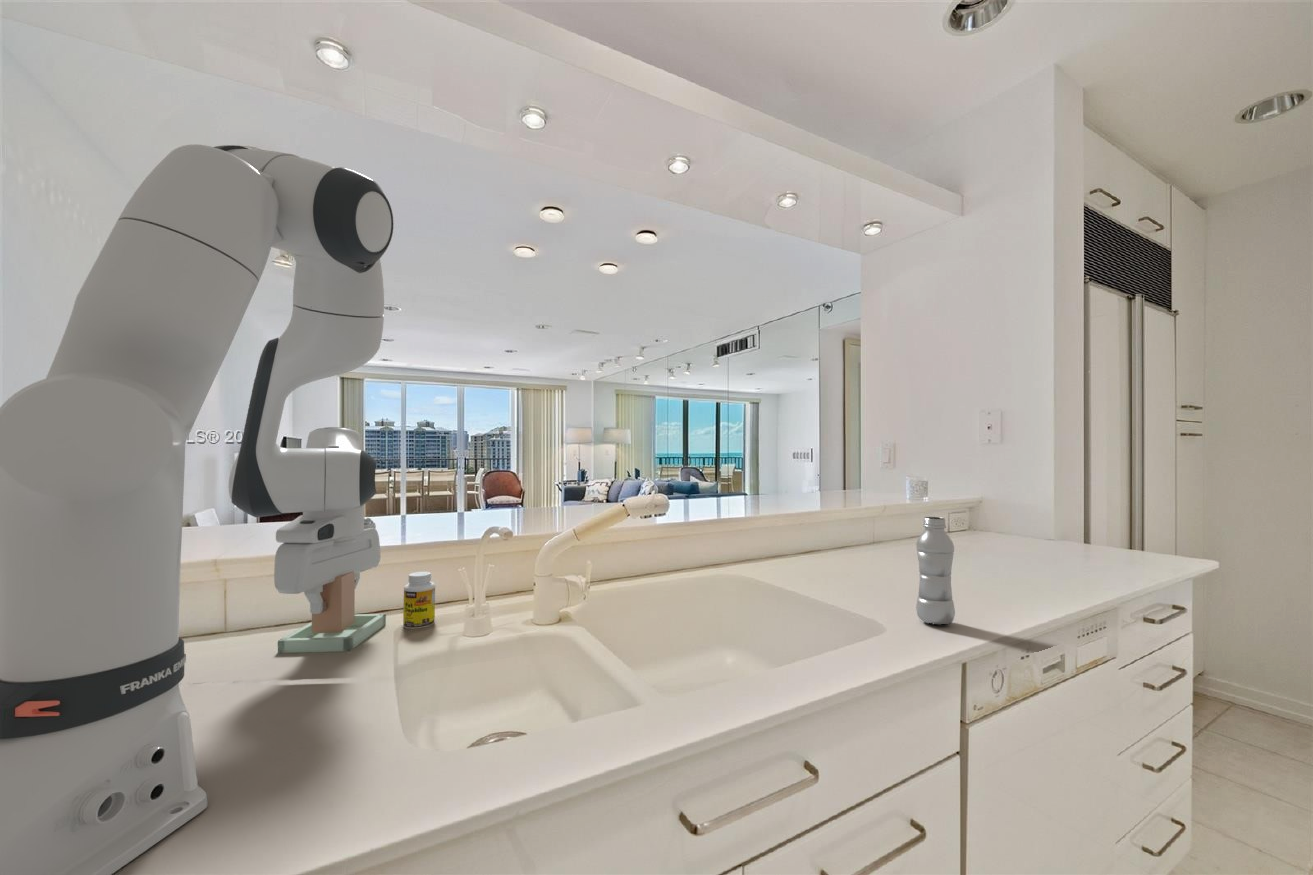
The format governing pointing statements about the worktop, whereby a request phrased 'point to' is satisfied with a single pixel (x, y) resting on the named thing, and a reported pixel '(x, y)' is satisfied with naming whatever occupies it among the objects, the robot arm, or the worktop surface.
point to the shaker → (336, 606)
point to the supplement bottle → (419, 601)
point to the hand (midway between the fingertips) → (333, 606)
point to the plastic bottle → (935, 573)
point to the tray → (332, 636)
